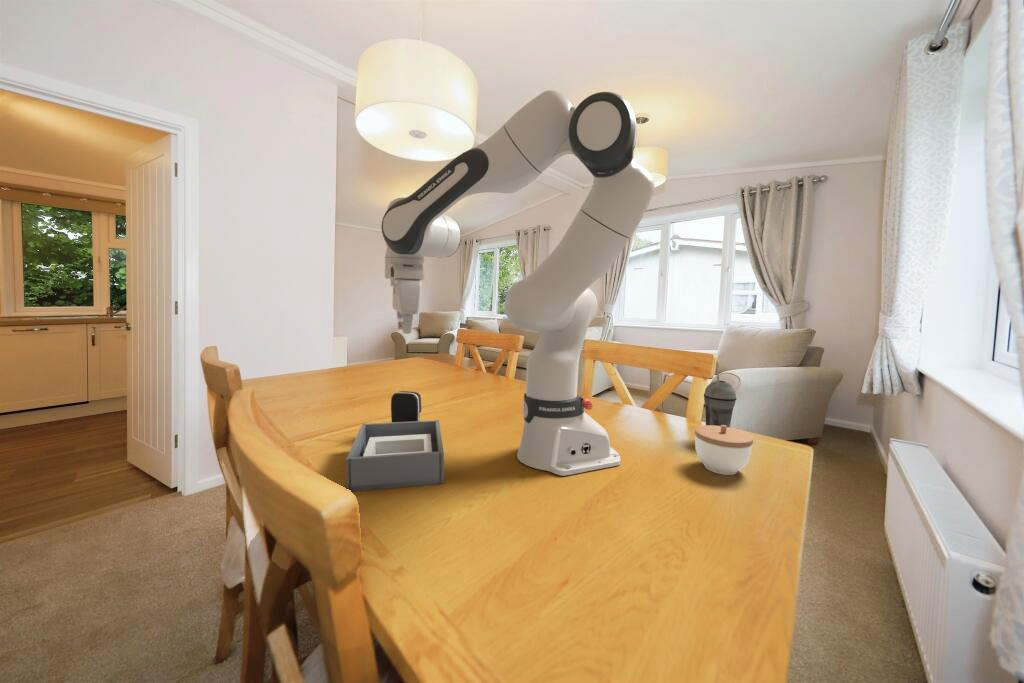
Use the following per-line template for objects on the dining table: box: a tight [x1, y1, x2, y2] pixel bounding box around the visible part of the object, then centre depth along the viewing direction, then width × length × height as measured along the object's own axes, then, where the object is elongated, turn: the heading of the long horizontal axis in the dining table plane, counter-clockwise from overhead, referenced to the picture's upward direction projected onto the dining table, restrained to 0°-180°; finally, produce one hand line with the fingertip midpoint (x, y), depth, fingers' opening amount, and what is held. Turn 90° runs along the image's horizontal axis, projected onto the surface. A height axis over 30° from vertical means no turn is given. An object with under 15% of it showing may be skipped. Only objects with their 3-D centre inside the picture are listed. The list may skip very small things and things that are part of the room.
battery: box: [390, 390, 422, 422], centre depth 97 cm, size 7×4×11 cm, turn 81°
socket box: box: [345, 419, 445, 492], centre depth 81 cm, size 17×20×6 cm
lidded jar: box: [694, 424, 754, 476], centre depth 82 cm, size 11×11×9 cm
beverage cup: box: [703, 362, 738, 428], centre depth 97 cm, size 7×7×20 cm
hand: (404, 331), depth 92 cm, fingers open, 8 cm apart
